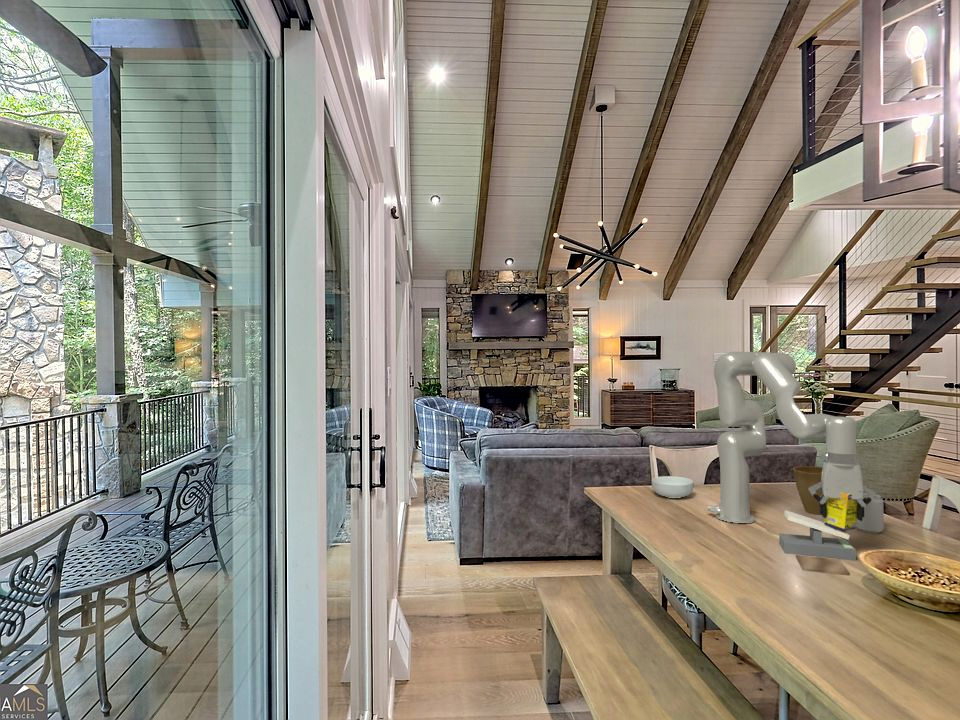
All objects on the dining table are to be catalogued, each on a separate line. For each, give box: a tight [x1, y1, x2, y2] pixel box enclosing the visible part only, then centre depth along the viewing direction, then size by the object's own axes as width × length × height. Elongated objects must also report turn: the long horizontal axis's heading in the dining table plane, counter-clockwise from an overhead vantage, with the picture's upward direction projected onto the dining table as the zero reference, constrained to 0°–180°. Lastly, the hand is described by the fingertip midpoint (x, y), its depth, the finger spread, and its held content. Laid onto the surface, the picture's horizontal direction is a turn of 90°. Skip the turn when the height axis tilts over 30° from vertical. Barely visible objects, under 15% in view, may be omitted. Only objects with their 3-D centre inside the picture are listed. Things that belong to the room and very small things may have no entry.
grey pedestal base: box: [778, 527, 857, 561], centre depth 168 cm, size 18×10×7 cm, turn 70°
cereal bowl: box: [651, 475, 695, 498], centre depth 236 cm, size 17×17×7 cm
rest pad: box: [795, 554, 851, 576], centre depth 156 cm, size 11×11×1 cm
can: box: [855, 492, 885, 534], centre depth 188 cm, size 8×8×12 cm
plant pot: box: [792, 465, 827, 516], centre depth 211 cm, size 15×15×16 cm
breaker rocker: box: [783, 510, 850, 540], centre depth 168 cm, size 16×7×1 cm, turn 69°
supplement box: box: [824, 493, 858, 532], centre depth 166 cm, size 6×6×11 cm
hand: (841, 518), depth 166 cm, fingers closed on supplement box, 8 cm apart
